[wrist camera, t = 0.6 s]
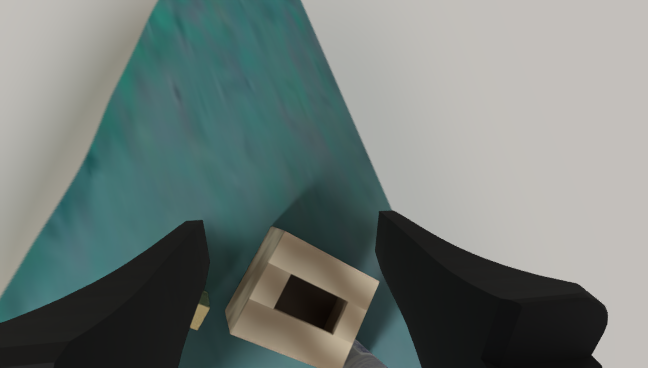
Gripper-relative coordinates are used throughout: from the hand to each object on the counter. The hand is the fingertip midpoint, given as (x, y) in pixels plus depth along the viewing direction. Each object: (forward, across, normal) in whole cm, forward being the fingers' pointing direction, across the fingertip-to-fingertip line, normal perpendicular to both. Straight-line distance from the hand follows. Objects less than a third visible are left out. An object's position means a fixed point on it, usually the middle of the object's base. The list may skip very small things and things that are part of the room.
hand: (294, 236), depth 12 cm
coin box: (+16, 0, +18) cm, 24 cm away
